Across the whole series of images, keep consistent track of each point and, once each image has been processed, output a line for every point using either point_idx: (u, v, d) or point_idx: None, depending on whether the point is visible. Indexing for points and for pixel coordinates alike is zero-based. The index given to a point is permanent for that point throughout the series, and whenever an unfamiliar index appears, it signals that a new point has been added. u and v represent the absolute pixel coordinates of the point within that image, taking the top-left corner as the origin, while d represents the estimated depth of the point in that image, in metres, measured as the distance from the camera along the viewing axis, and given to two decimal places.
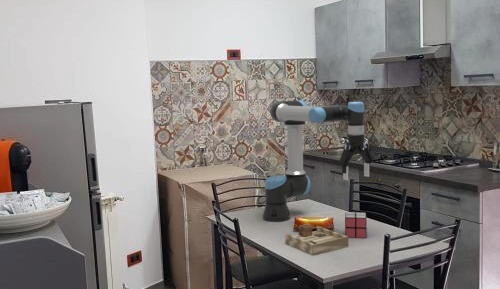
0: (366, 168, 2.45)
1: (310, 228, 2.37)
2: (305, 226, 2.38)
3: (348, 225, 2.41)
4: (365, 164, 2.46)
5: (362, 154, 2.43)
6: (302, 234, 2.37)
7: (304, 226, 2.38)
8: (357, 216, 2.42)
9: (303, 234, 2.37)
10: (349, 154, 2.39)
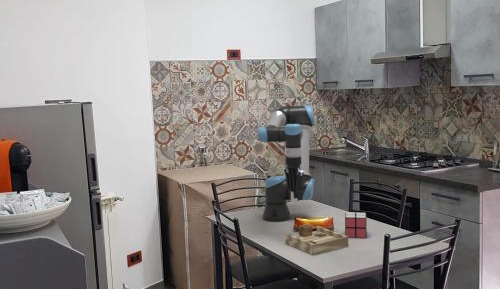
0: None
1: (310, 228, 2.37)
2: (305, 226, 2.38)
3: (348, 225, 2.41)
4: None
5: None
6: (302, 234, 2.37)
7: (304, 226, 2.38)
8: (357, 216, 2.42)
9: (303, 234, 2.37)
10: None
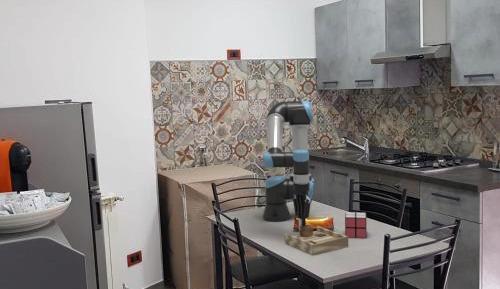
0: None
1: (311, 228, 2.37)
2: (306, 226, 2.37)
3: (348, 225, 2.41)
4: None
5: None
6: (303, 234, 2.37)
7: (305, 226, 2.37)
8: (357, 216, 2.42)
9: (304, 234, 2.36)
10: None
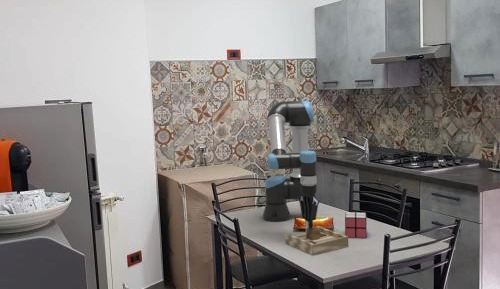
0: None
1: (318, 231, 2.32)
2: (313, 229, 2.33)
3: (348, 225, 2.41)
4: None
5: None
6: (310, 237, 2.32)
7: (312, 229, 2.33)
8: (357, 216, 2.42)
9: (311, 237, 2.32)
10: None
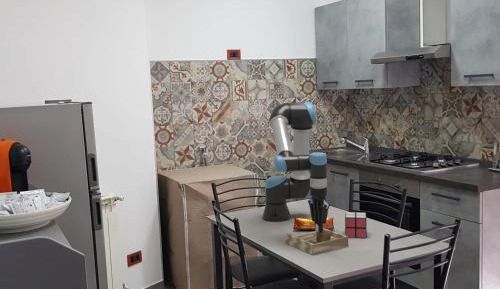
0: None
1: (328, 235, 2.26)
2: (323, 232, 2.27)
3: (348, 225, 2.41)
4: None
5: None
6: (320, 241, 2.26)
7: (322, 232, 2.27)
8: (357, 216, 2.42)
9: (321, 241, 2.26)
10: None
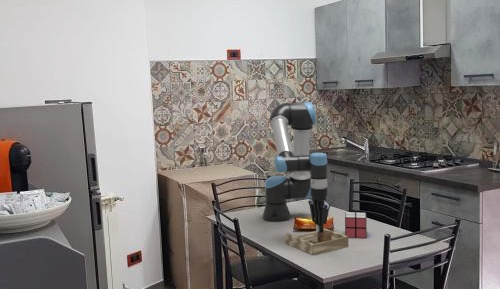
0: None
1: (329, 234, 2.26)
2: (324, 232, 2.26)
3: (348, 225, 2.41)
4: None
5: None
6: (321, 241, 2.25)
7: (323, 232, 2.26)
8: (357, 216, 2.42)
9: (322, 240, 2.25)
10: None
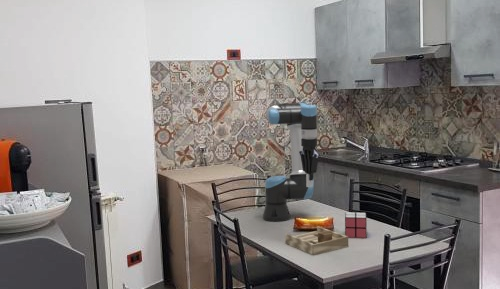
0: None
1: (330, 235, 2.25)
2: (325, 233, 2.26)
3: (348, 225, 2.41)
4: None
5: None
6: (321, 241, 2.25)
7: (324, 233, 2.26)
8: (357, 216, 2.42)
9: (323, 241, 2.25)
10: None
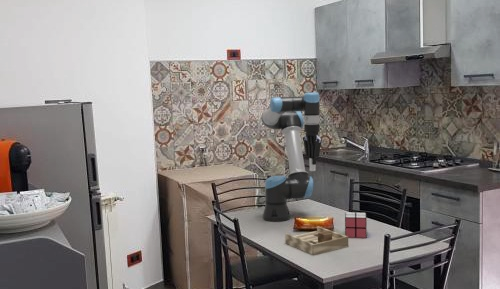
0: None
1: (330, 235, 2.25)
2: (325, 233, 2.26)
3: (348, 225, 2.41)
4: None
5: None
6: (321, 241, 2.25)
7: (324, 233, 2.26)
8: (357, 216, 2.42)
9: (323, 241, 2.25)
10: None
